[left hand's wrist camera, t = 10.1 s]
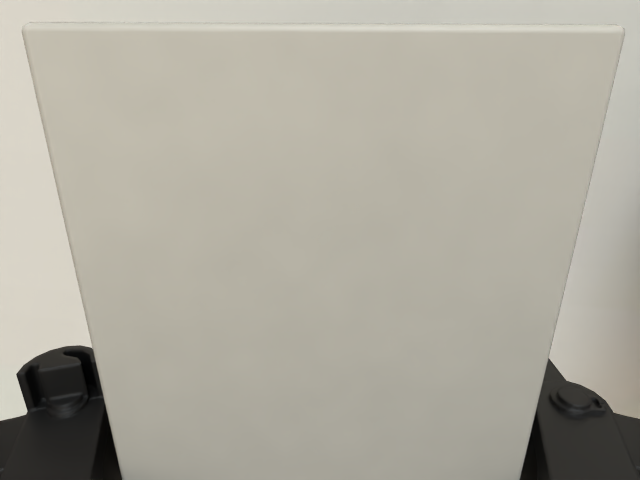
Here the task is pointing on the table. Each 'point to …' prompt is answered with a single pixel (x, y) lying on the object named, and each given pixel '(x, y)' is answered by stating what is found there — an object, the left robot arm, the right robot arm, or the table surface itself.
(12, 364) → the table surface
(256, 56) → the beam
